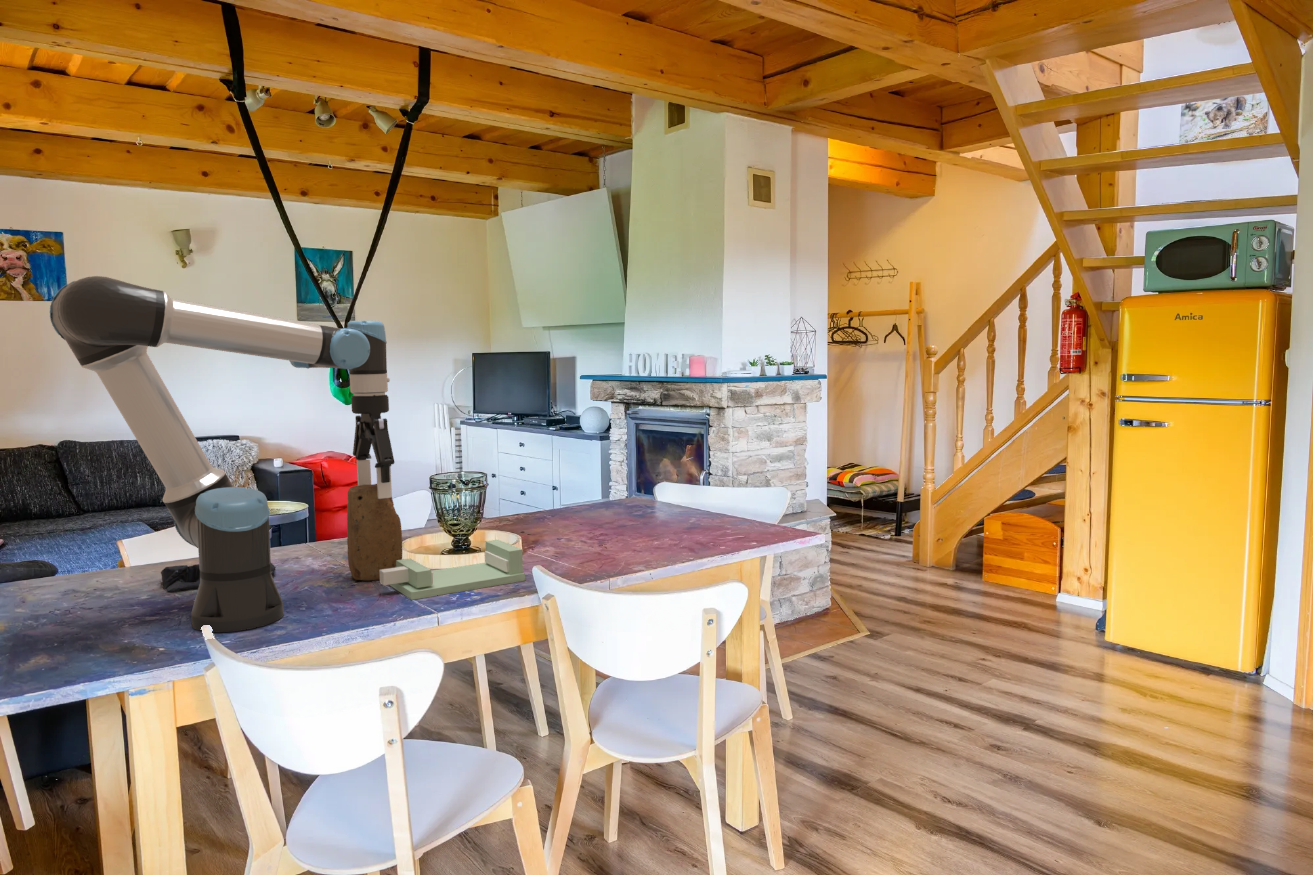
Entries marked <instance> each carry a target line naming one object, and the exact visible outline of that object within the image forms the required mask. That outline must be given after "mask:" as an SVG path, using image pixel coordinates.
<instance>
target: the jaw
mask: <svg viewBox="0 0 1313 875" xmlns="http://www.w3.org/2000/svg"><path fill="white" fill-rule="evenodd" d="M431 571H432V569H430V568H428V567H427V566H426V565H424V564H421V563H420V562H418V561H416V560H414V559H412V558H410V557H409V558H402V560H396V568H389V569H382V570H379V572H380V579H379V583H380V584H381V585H383V586H390V584H396V583H402V582H408V583H410V584H411V585H413V586H415V587H416V588H421V587H427V586H432V584H433V572H431Z"/></svg>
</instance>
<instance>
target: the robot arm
mask: <svg viewBox="0 0 1313 875" xmlns="http://www.w3.org/2000/svg"><path fill="white" fill-rule="evenodd" d="M49 306H50V307H49V319H50V323H51V326H52V328H53V329H54V331H55V332H56V334H58V336H60V338H62V339H63V340H64V341H65V342H66V344H67V345H68V347H69V348H70V350H71V351H72V353H73V355H74V357H75V358H76V359H77V361H78V363H79V365H80V366H81V367H82V368H83V369H87V370H90V371H94V373H96V374H97V376H98V377H99V380H100V382H101V383H102V384H103V386H104V387H105V389H106V390H107V392H108V394H109V396H110V398H111V399H112V401H113V403H114V405H115V406H116V408H117V409H118V411H119V412H120V414H121V416H122V418H123V419H124V421H125V423H126V424H127V426H128V427H129V429H130V431H131V433H132V434H133V436H134V438H135V439H136V441H137V443H138V444H139V445H140V447H141V449H142V451H143V453H144V454H145V456H146V457H147V459H148V461H149V462H150V465H151V466H152V468H153V469H154V471H155V473H156V474H157V475H158V477H159V479H160V481H161V482H162V485H163V486H164V488H165V491H164V494H163V496H162V502H163V503H164V505H165V506H166V509H167V510H168V512H169V514H170V515H171V517H172V519H173V524H174V526H175V527H174V528H175V530H176V532H177V534H178V535H179V536H180V537H181V538H182V540H184V541H185V542H186V543H188V544H189V545H191V546H193V547H195V548H197V549H198V564H199V569H200V585H199V588H198V589H197V592H196V596H195V599H194V602H193V605H192V610H191V611H190V612H191V613H190V618H191V623H190V624H191V627H192V628H193V629H194V630H197V631H200V629H201V627H202V626H203V625H210V626H211V627H212V629H213V631H214V632H213V633H228V632H229V633H230V632H239V631H240V632H241V631H246V629H247V630H252V629H256V627H257V628H261V627H263V626H267V625H270V624H273V623H274V622H276V621H279V620H281V619H282V618H283V617H284V615H285V614H284V612H285V611H284V601H283V599H282V596H281V594H280V592H279V589H278V587H277V584H276V582H275V579H274V577H273V574H271V563H272V561H271V559H272V558H271V540H270V538H271V537H270V520H269V518H270V514H271V513H270V507H269V504H268V499H267V497H266V494H265V493H264V492H262V491H260V490H258V489H255V488H246V487H243V486H242V487H240V486H236V487H235V486H234V485H233V484H232V482H231V480H230V478H229V477H228V475H227V472H225V470H223V469H221V468H215V467H213V466H212V464H211V463H210V461H209V459H208V458H207V456H206V454H205V452H204V451H203V448H202V446H201V445H200V443H199V441H198V440H197V438H196V437H195V434H194V433H193V431H192V429H191V428H190V426H189V425H188V424H189V423H188V422H187V421H186V419H185V416H183V414H182V412H181V411H180V409H179V407H178V405H177V403H176V402H175V400H174V398H173V397H172V395H171V393H170V392H169V389H168V387H167V386H166V384H165V382H164V381H163V379H162V377H161V375H160V373H159V372H158V370H157V368H156V366H155V365H154V363H153V361H152V360H151V358H150V356H149V354H148V353H147V352H148V347H151V348H158V347H160V346H161V345H163V344H170V345H171V344H172V345H180V346H186V347H193V348H201V349H208V350H214V351H221V352H229V353H233V354H242V355H249V356H255V357H261V358H271V359H276V360H277V359H278V360H283V361H289V362H290V364H291V366H292V367H294V368H298V369H300V368H301V369H311V368H312V369H314V368H316V369H317V368H321V369H331V368H332V369H342V370H349V387H350V391H349V392H350V393H351V394H353V395H352V396H351V397H350V401H351V404H350V405H351V412H352V413H353V414H354V415H355V429H354V437H353V438H354V440H353V447H352V448H353V449H352V456H353V457H355V460H356V470H357V471H356V472H357V474H356V475H357V486H360V485H372V473H371V459H372V456H371V453H370V451H371V447H372V449H373V452H374V457H375V459H376V460H375V461H376V463H375V464H374V468H375V469H376V484H377V492H378V499H382V498H391V497H392V498H393V492H392V490H393V489H392V475H391V474H392V472H391V471H392V470H391V467H392V465H394V464H395V459H394V453H393V449H392V443H391V438H390V433H389V428H388V427H389V426H388V419H387V418H382V416H381V414H385V413H388V412H389V411H390V402H389V396H388V395H387V394H386V393H387V392H389V387H388V386H389V385H388V383H390V381H391V378H389V377H388V364H387V363H388V361H387V335H386V329H385V325H384V323H383V322H382V321H380V320H349V322H347V324H346V325H347V327H344V328H339V327H334V326H329V325H322V324H317V323H311V322H306V321H301V320H294V319H288V318H283V317H277V316H274V315H273V316H272V315H267V314H266V315H265V314H260V313H257V312H256V313H255V312H249V311H243V310H238V309H233V308H226V307H222V306H221V307H220V306H216V305H209V304H205V303H204V304H203V303H199V302H192V301H186V300H182V299H177V298H172V297H170V296H169V295H168V293H167V292H166V291H165V290H160V289H154V288H150V287H145V286H140V285H138V284H137V285H136V284H134V283H130V282H126V281H123V280H120V279H116V278H112V277H108V276H101V275H99V276H98V275H94V276H87V277H82V278H80V279H78V280H74V281H71V282H70V283H67V284H65V285H63V286H62V287H61V288H60V289H59V290H58V291H56V293H55V295H54V296H53V297H52V300H51V302H50V305H49Z"/></svg>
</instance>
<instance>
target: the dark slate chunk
mask: <svg viewBox="0 0 1313 875" xmlns="http://www.w3.org/2000/svg"><path fill="white" fill-rule="evenodd" d="M275 571H276V566H275V564H273V563H272V562H271V574H272V575H273V574H274V573H275ZM160 574H161V582H162V584H161V585H162V588H163V589H164V590H165V591H167V592H170V593H177V592H181V591H188V590H198V588H199V585H200V569H199V563H198V564H197V563H196V564H193V565H189V566H188V565H185V564H184V565H173V566H166V567H164V568H163V569H162V570H161V571H160Z"/></svg>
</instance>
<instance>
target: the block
mask: <svg viewBox="0 0 1313 875" xmlns="http://www.w3.org/2000/svg"><path fill="white" fill-rule="evenodd" d="M346 505H347V510H346V512H347V515H346V518H347V520H346V523H347V525H346V526H347V528H346V530H347V531H346V532H347V533H346V534H347V537H346V538H347V541H346V542H347V560H348V562H347V563H348V568H349V572H350V574H351V577H352V578H353V579H354V580H356V581H367V582H369V581H370V582H371V581H380V572H379V570H382V569H389V568H396V560H402V559H403V533H402V523H401V518H400V516H399V514H398V513H397V511H396V509H395V506H394V505H395V504H394V498H393V496H392V497H391V498H382V499H378V492H377V483H374V484H371V485H360V486H358V485H354V486H351V487H350V488H348V491H347V504H346Z"/></svg>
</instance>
